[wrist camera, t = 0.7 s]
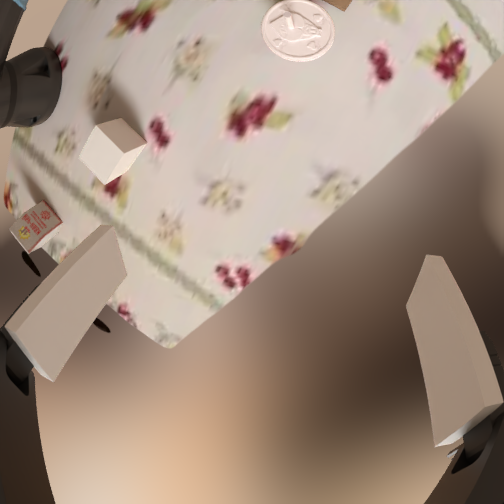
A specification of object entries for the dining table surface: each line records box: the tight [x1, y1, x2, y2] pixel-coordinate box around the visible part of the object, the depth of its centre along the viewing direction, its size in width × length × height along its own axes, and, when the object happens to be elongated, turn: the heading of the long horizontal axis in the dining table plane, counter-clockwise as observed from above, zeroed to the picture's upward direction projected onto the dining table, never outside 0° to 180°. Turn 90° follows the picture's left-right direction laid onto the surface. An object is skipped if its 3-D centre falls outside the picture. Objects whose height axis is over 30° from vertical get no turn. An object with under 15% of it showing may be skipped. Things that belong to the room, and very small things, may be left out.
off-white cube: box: [79, 118, 147, 185], centre depth 35 cm, size 6×6×6 cm
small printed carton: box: [9, 200, 63, 254], centre depth 43 cm, size 4×7×10 cm, turn 44°
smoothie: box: [261, 0, 335, 62], centre depth 20 cm, size 6×6×14 cm
